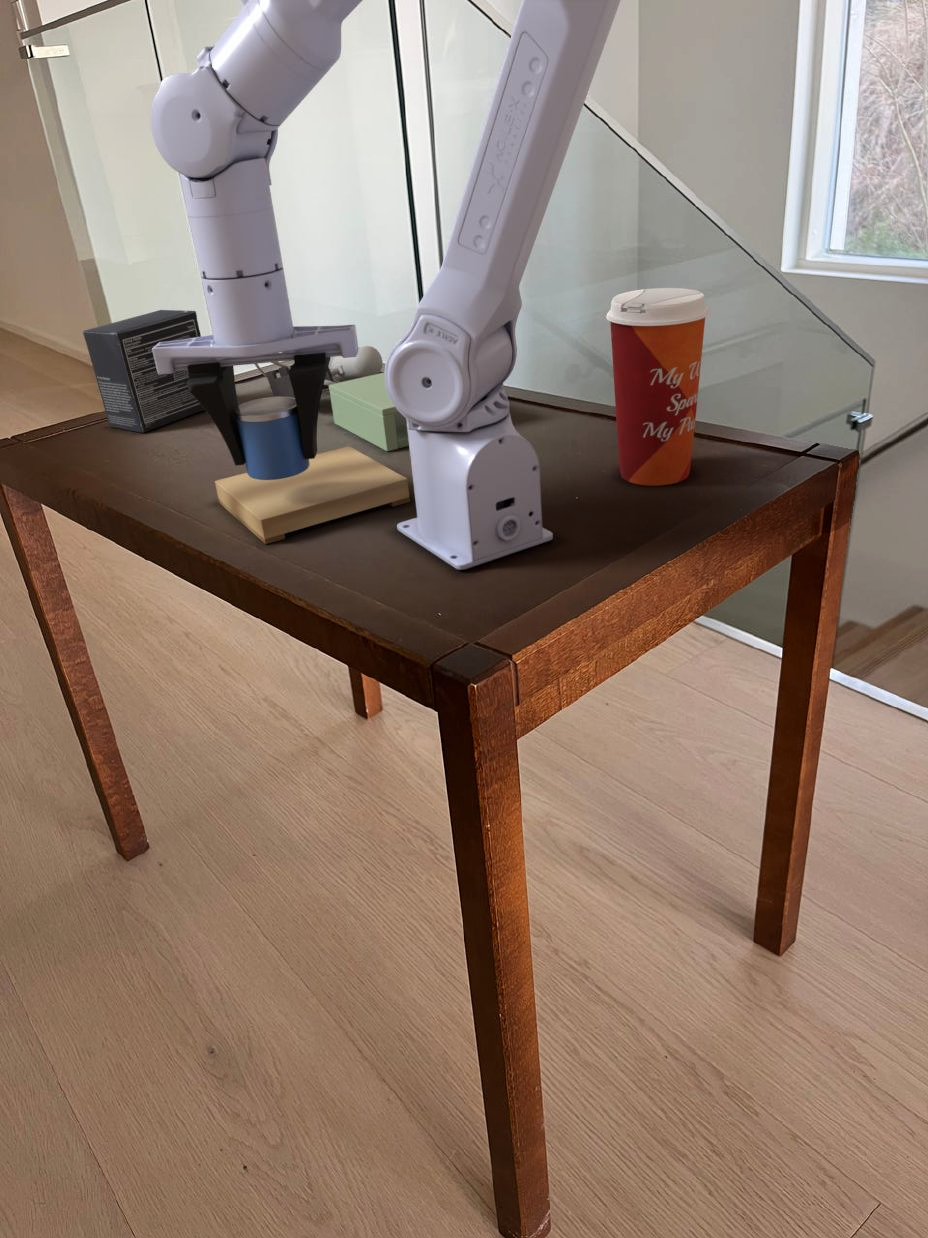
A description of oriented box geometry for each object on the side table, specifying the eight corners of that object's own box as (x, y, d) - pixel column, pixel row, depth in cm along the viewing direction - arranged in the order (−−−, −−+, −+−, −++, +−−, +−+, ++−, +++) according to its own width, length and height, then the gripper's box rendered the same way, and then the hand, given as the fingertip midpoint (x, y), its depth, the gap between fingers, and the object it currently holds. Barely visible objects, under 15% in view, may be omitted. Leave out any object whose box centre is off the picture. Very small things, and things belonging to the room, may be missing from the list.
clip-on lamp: (246, 417, 113) (306, 413, 98) (226, 364, 110) (285, 351, 95) (331, 385, 118) (401, 377, 103) (314, 334, 115) (382, 318, 100)
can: (320, 469, 73) (309, 405, 70) (260, 485, 70) (246, 420, 68) (296, 453, 76) (285, 392, 74) (238, 469, 74) (224, 406, 72)
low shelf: (410, 501, 77) (407, 478, 76) (265, 544, 71) (260, 520, 70) (352, 467, 85) (349, 445, 84) (219, 503, 80) (214, 480, 79)
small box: (182, 400, 110) (161, 307, 105) (219, 405, 107) (199, 309, 102) (105, 427, 103) (79, 328, 98) (143, 434, 100) (117, 331, 94)
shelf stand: (495, 422, 93) (493, 382, 91) (387, 451, 88) (381, 409, 86) (435, 398, 102) (431, 361, 100) (334, 423, 97) (328, 384, 95)
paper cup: (670, 497, 73) (674, 309, 66) (588, 479, 78) (585, 302, 71) (721, 466, 78) (731, 288, 71) (641, 451, 83) (643, 283, 76)
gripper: (350, 254, 70) (374, 433, 76) (155, 272, 70) (195, 449, 77) (341, 269, 64) (368, 462, 70) (127, 289, 64) (173, 479, 70)
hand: (277, 457), depth 73 cm, fingers closed on can, 5 cm apart
